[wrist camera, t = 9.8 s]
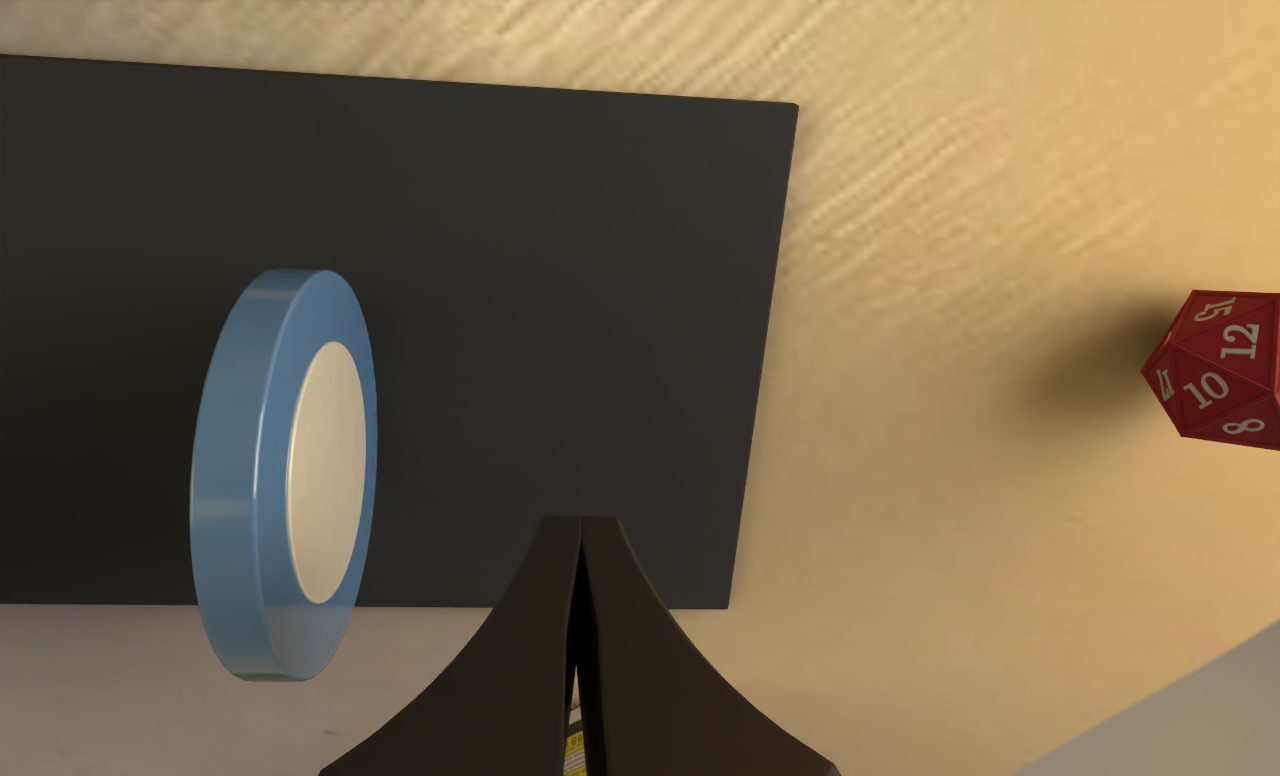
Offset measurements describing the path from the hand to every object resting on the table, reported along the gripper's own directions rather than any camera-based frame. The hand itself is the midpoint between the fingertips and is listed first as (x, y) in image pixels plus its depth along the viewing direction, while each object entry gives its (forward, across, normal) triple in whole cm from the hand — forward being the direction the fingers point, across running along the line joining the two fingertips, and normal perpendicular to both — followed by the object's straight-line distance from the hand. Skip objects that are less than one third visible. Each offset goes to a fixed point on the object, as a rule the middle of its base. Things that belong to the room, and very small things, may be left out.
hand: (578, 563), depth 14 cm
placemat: (+7, +6, 0) cm, 9 cm away
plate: (+3, +6, 0) cm, 6 cm away
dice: (+8, -16, -2) cm, 18 cm away
